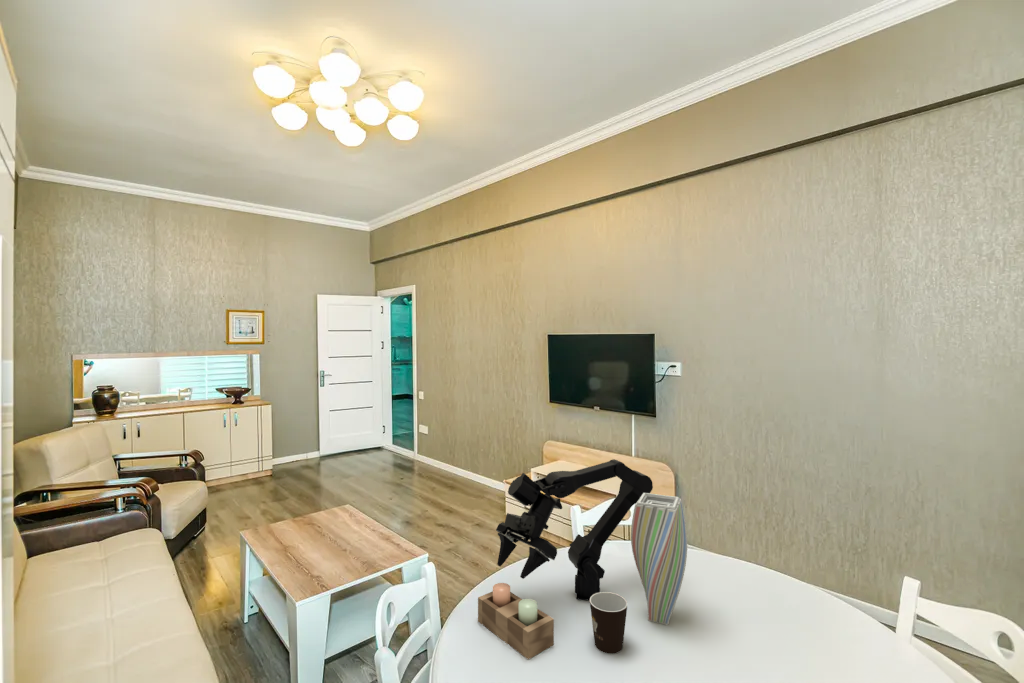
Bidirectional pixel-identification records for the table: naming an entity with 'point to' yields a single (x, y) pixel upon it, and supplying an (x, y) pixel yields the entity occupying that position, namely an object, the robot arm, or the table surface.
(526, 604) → the pale green egg
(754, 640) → the table surface
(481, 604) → the wooden compartment box
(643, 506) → the vase
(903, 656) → the table surface
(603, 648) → the brown paper cup
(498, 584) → the peach orange egg
